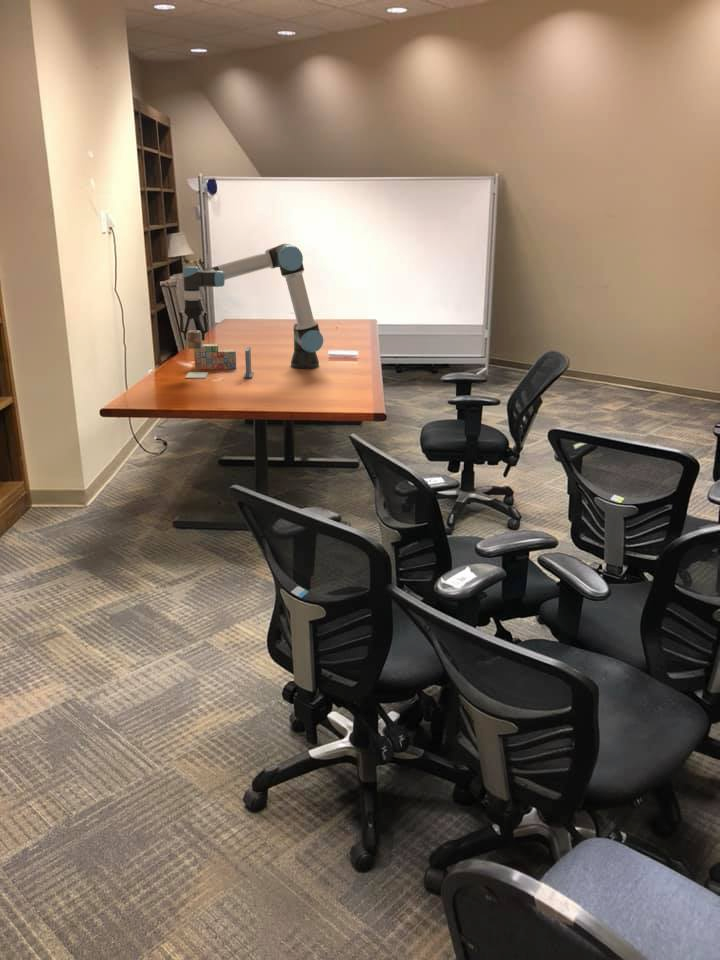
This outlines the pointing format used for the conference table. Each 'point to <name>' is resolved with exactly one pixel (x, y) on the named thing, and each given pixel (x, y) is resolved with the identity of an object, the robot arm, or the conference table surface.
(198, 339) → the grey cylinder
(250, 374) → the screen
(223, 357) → the stack of blocks
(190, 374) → the pad
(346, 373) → the conference table surface
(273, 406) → the conference table surface
